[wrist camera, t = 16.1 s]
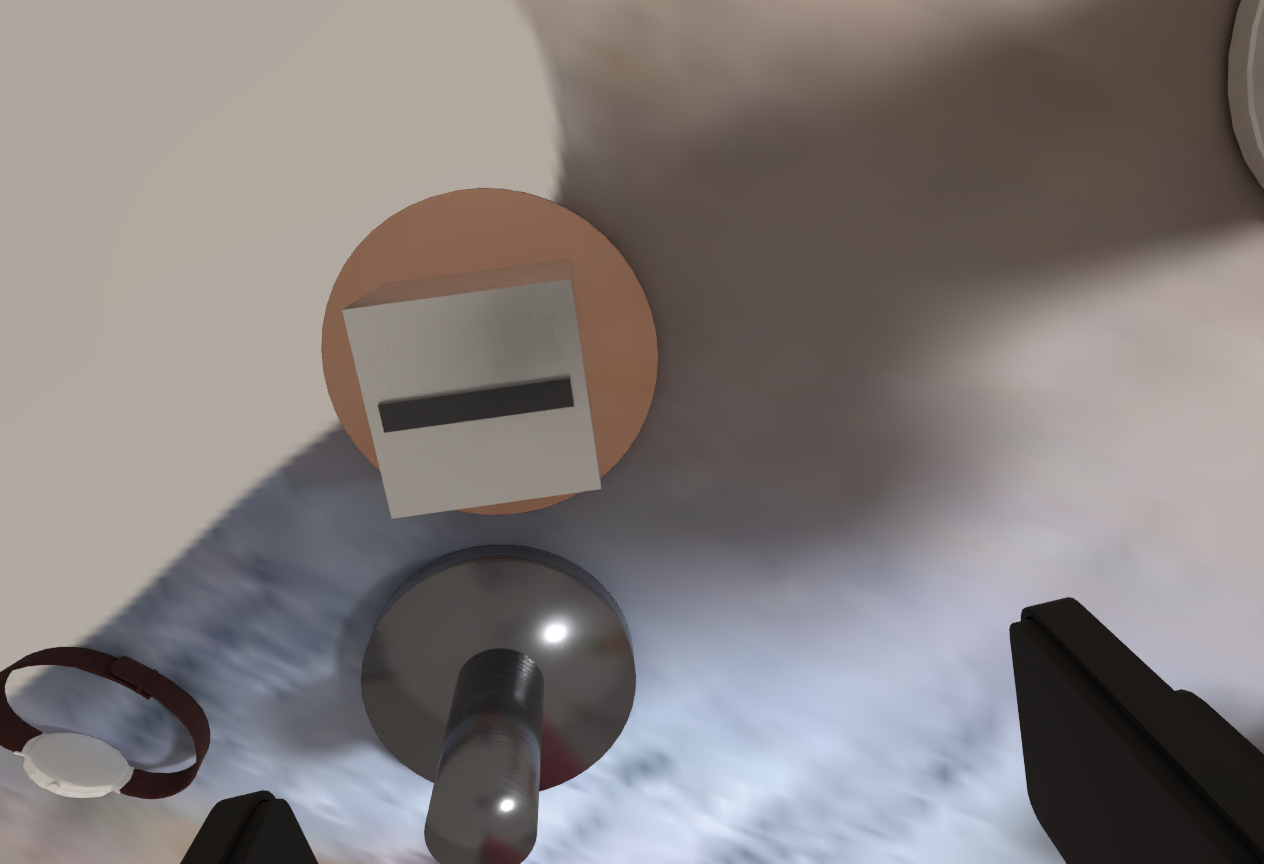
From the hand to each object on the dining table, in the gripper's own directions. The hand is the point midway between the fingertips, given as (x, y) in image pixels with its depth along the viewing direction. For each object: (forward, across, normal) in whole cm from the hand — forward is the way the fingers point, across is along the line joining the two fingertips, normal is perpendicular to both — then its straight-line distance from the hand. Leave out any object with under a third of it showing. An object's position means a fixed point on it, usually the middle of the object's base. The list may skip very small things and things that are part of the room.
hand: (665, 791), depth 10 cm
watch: (+19, +21, +7) cm, 29 cm away
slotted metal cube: (+18, +4, -2) cm, 19 cm away
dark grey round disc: (+19, +7, +10) cm, 22 cm away
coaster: (+19, +4, -2) cm, 20 cm away
